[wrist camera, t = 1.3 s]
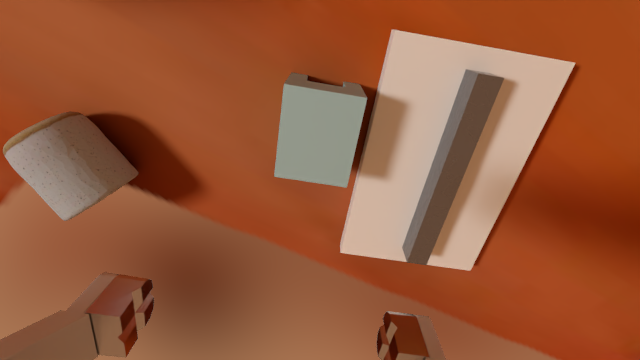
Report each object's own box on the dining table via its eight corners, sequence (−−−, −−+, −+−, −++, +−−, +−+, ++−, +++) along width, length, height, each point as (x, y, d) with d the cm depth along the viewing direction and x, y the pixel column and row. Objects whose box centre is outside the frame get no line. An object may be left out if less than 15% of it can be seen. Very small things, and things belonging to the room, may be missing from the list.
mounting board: (391, 29, 27) (395, 29, 26) (563, 60, 28) (575, 62, 27) (340, 244, 38) (340, 252, 37) (465, 262, 39) (470, 270, 38)
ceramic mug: (92, 98, 30) (23, 121, 24) (152, 164, 33) (107, 201, 27) (26, 148, 33) (-53, 182, 26) (87, 205, 36) (31, 248, 29)
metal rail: (465, 69, 27) (478, 73, 25) (489, 73, 27) (504, 77, 25) (402, 247, 36) (407, 262, 34) (420, 250, 36) (426, 265, 34)
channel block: (291, 72, 29) (283, 83, 24) (359, 84, 29) (367, 97, 24) (282, 151, 33) (274, 176, 27) (343, 160, 33) (346, 187, 28)
